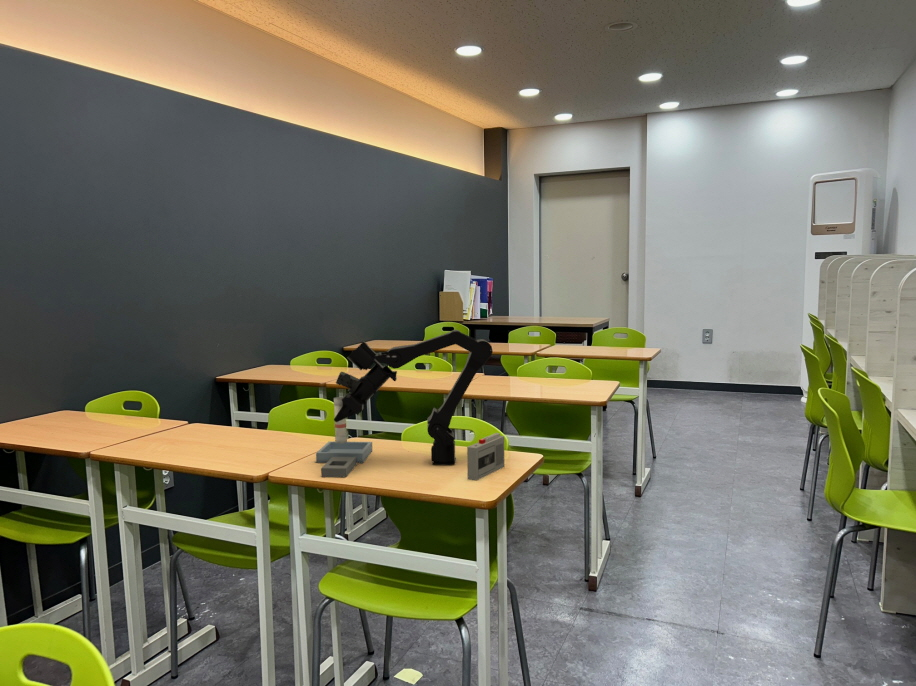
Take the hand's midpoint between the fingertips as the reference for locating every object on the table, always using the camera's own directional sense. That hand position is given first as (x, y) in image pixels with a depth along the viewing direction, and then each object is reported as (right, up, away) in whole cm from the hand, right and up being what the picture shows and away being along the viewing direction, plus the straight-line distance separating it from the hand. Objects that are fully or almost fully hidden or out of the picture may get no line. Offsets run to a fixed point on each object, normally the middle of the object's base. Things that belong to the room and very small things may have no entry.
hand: (335, 419), depth 191 cm
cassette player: (+44, -14, -8) cm, 47 cm away
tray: (+1, -13, +10) cm, 16 cm away
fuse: (+1, -7, +1) cm, 7 cm away
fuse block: (+2, -14, -5) cm, 15 cm away
